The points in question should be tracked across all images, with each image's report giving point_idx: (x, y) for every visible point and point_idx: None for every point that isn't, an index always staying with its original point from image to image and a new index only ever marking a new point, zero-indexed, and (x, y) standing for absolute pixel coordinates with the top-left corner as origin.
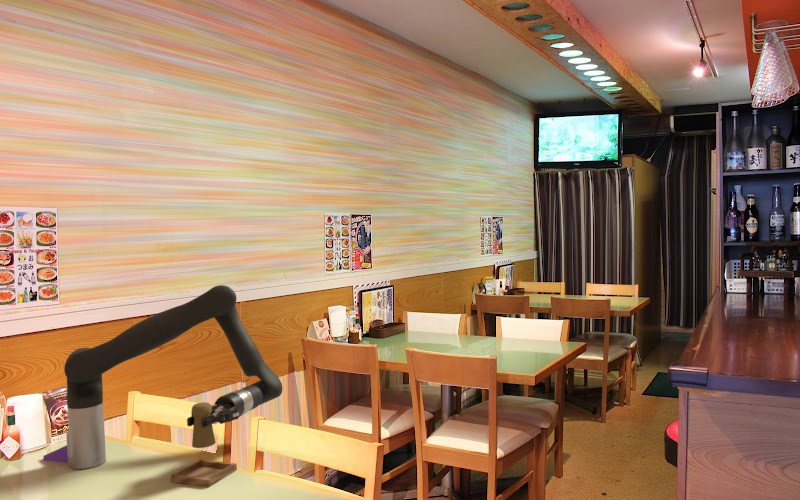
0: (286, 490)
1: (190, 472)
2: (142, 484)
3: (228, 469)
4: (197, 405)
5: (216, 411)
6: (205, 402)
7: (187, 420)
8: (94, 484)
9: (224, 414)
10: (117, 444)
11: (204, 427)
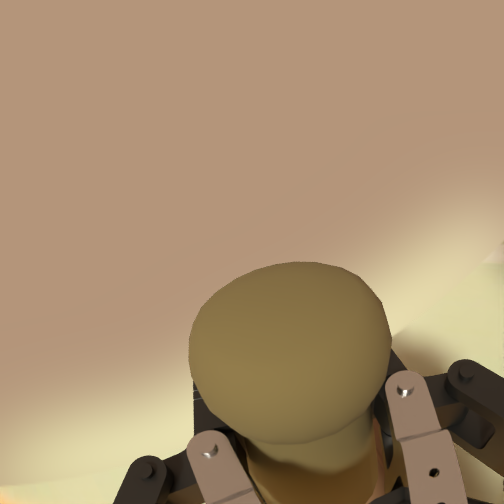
0: (40, 496)
1: (382, 483)
2: (420, 371)
3: None
4: (270, 267)
5: (233, 496)
6: (288, 339)
7: None
8: (486, 306)
9: (124, 484)
10: None
11: None
